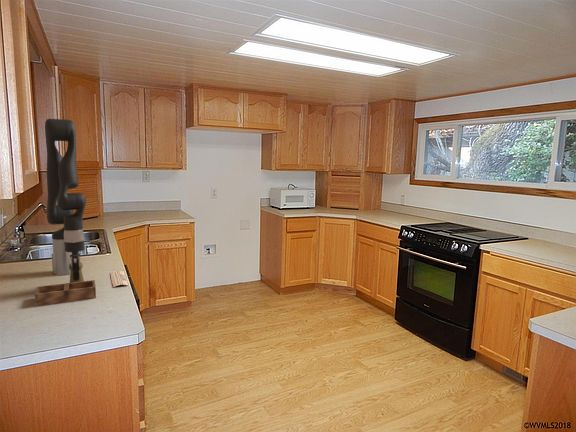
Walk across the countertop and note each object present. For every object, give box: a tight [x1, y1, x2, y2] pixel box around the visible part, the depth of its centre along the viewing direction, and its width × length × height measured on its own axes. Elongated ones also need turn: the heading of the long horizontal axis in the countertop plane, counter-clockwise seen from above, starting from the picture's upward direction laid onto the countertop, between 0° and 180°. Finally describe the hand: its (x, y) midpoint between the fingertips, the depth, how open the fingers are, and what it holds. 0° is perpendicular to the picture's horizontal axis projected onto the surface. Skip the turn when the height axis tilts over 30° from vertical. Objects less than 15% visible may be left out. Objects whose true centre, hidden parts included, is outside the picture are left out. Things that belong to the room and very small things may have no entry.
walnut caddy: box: [34, 279, 97, 307], centre depth 155 cm, size 20×10×4 cm, turn 118°
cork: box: [69, 261, 85, 283], centre depth 168 cm, size 6×6×11 cm
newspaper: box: [109, 270, 129, 288], centre depth 180 cm, size 24×7×2 cm, turn 27°
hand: (76, 277), depth 168 cm, fingers open, 5 cm apart
